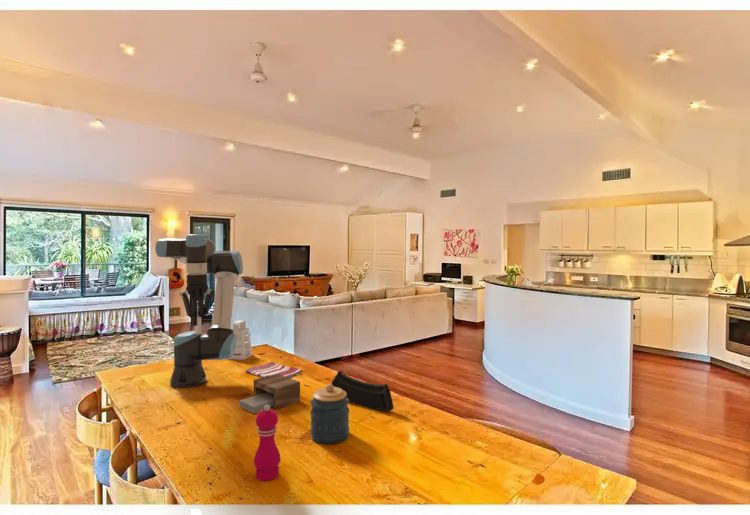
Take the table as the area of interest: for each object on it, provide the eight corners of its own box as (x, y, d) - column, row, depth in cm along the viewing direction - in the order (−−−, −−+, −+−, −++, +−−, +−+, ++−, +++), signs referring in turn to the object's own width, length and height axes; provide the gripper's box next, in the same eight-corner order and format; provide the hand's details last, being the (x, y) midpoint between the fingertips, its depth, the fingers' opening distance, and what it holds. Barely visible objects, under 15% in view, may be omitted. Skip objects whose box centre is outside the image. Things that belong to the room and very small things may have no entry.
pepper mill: (256, 468, 122) (256, 400, 122) (282, 467, 123) (281, 399, 122) (251, 483, 115) (250, 410, 114) (278, 481, 116) (278, 409, 115)
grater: (252, 354, 244) (252, 320, 243) (243, 359, 234) (243, 323, 233) (235, 353, 246) (235, 319, 245) (226, 358, 236) (225, 322, 235)
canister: (318, 448, 135) (318, 393, 134) (305, 432, 146) (305, 381, 145) (355, 439, 141) (355, 386, 140) (340, 424, 152) (340, 375, 151)
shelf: (253, 399, 176) (253, 379, 176) (277, 391, 185) (276, 373, 184) (276, 409, 165) (276, 389, 165) (300, 401, 174) (300, 381, 174)
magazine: (399, 389, 162) (342, 354, 179) (394, 392, 159) (337, 356, 176) (388, 428, 165) (333, 390, 182) (383, 431, 163) (328, 393, 180)
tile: (239, 407, 168) (239, 400, 168) (277, 395, 181) (277, 388, 181) (253, 414, 161) (253, 407, 161) (292, 401, 175) (292, 394, 175)
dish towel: (271, 365, 225) (271, 360, 224) (303, 374, 211) (303, 369, 211) (245, 373, 211) (245, 368, 211) (276, 383, 197) (276, 377, 197)
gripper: (184, 275, 159) (186, 337, 160) (217, 273, 169) (218, 332, 170) (175, 274, 164) (177, 334, 165) (208, 272, 174) (208, 329, 175)
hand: (198, 333), depth 167 cm, fingers closed
